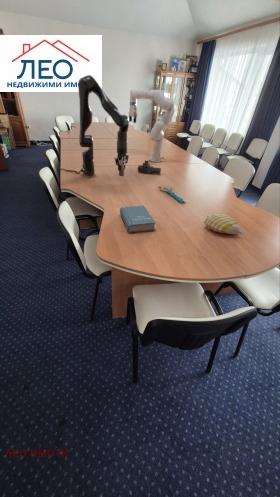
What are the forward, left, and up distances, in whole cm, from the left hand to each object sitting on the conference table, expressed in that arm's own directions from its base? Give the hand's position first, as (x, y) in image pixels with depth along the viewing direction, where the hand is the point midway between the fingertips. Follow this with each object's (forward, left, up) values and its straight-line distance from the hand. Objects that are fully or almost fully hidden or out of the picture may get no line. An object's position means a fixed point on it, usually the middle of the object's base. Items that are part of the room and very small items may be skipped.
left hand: (121, 169), depth 173 cm
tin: (0, 0, -4) cm, 4 cm away
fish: (+87, -22, -15) cm, 90 cm away
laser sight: (+1, +48, -15) cm, 51 cm away
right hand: (-46, +98, +20) cm, 110 cm away
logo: (+40, +12, -15) cm, 45 cm away
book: (+37, -43, -15) cm, 59 cm away
